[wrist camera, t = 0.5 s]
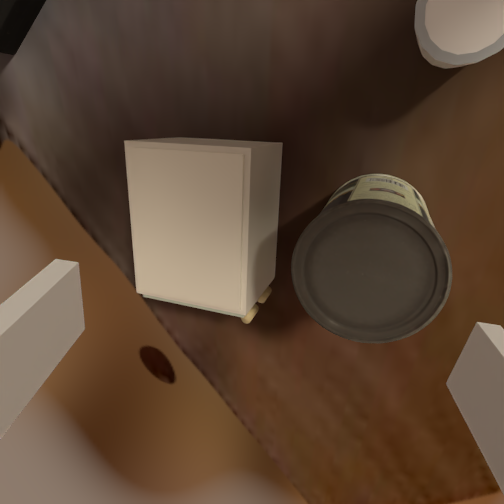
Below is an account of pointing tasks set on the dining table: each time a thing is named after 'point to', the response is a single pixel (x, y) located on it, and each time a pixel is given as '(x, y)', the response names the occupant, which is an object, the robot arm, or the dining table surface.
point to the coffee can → (372, 262)
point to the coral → (16, 22)
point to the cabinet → (204, 221)
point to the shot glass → (459, 30)
